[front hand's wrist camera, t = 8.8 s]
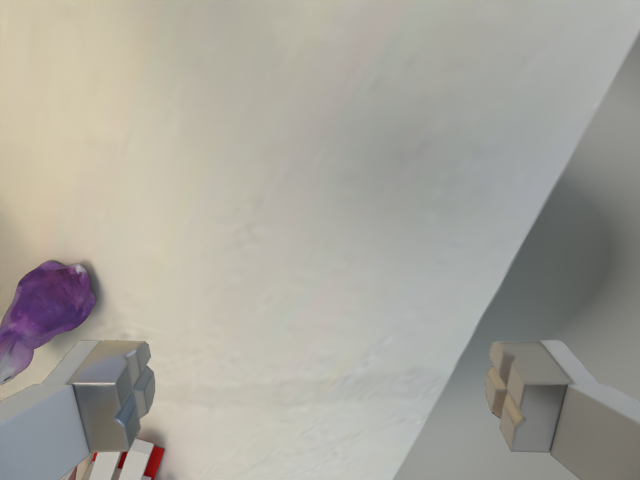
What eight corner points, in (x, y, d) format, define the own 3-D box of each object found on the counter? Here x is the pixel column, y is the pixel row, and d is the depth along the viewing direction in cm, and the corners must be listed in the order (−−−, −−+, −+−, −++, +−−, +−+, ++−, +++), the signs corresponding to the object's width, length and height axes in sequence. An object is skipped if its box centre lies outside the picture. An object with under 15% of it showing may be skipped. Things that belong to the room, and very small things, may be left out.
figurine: (39, 333, 58) (-49, 419, 44) (13, 261, 54) (-93, 331, 40) (111, 328, 58) (45, 414, 44) (90, 256, 54) (10, 324, 40)
